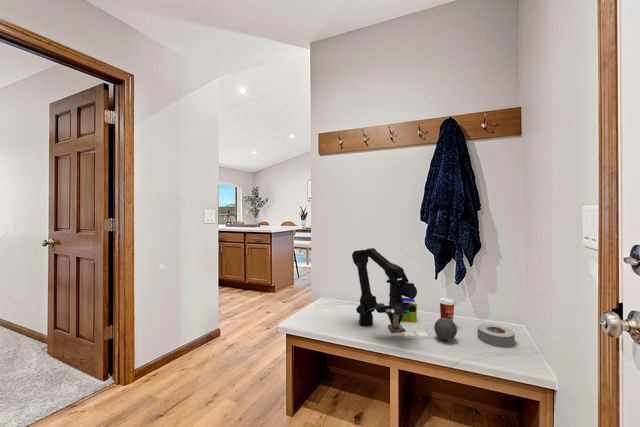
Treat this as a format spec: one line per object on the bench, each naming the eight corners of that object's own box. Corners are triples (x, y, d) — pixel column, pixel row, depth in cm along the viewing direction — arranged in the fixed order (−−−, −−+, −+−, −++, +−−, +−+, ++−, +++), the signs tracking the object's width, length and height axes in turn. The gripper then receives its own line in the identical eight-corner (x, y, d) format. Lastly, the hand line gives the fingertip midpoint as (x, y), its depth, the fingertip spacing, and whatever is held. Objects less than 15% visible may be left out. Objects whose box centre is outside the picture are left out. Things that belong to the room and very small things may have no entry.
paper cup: (447, 330, 158) (448, 303, 158) (435, 324, 165) (436, 298, 164) (458, 327, 162) (458, 300, 161) (445, 322, 169) (446, 296, 168)
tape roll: (493, 331, 157) (493, 321, 157) (522, 344, 143) (522, 333, 143) (470, 335, 152) (470, 325, 152) (497, 350, 138) (498, 338, 137)
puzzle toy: (412, 315, 179) (413, 298, 178) (416, 322, 169) (416, 304, 168) (395, 314, 180) (395, 297, 179) (397, 321, 170) (397, 303, 169)
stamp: (392, 331, 148) (392, 313, 148) (389, 328, 152) (390, 310, 152) (400, 331, 148) (400, 313, 148) (398, 328, 152) (398, 310, 152)
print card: (405, 338, 149) (405, 337, 149) (400, 331, 157) (400, 330, 157) (432, 337, 150) (432, 337, 150) (425, 330, 157) (425, 330, 157)
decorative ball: (436, 343, 144) (436, 322, 143) (432, 334, 154) (432, 314, 153) (459, 344, 142) (459, 323, 142) (453, 335, 152) (454, 315, 151)
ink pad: (391, 332, 155) (391, 329, 155) (387, 327, 162) (387, 324, 162) (405, 332, 155) (405, 329, 155) (400, 326, 162) (400, 323, 162)
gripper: (380, 299, 141) (380, 332, 142) (421, 298, 142) (420, 331, 143) (375, 291, 152) (374, 323, 153) (412, 291, 153) (411, 322, 154)
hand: (395, 325), depth 150 cm, fingers closed on stamp, 3 cm apart
